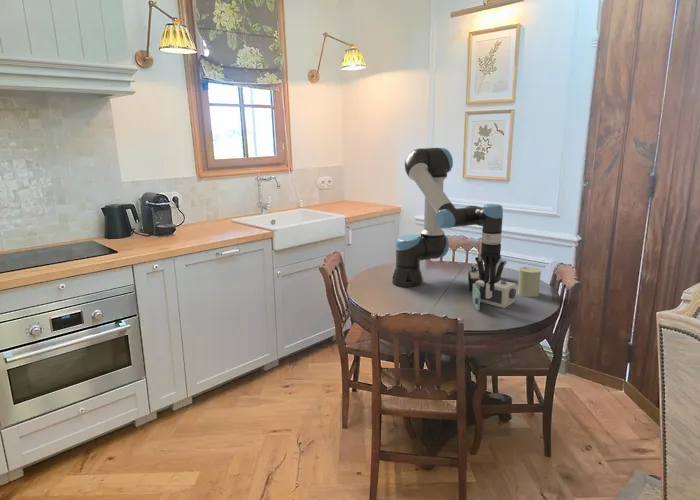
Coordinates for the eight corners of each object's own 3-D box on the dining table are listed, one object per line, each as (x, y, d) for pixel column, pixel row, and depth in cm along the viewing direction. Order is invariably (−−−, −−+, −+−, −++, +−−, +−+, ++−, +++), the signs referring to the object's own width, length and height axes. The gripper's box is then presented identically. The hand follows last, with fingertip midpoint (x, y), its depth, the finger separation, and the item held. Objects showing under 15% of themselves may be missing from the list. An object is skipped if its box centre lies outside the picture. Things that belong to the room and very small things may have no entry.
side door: (469, 299, 201) (470, 283, 199) (474, 299, 201) (474, 283, 199) (475, 310, 189) (476, 293, 187) (479, 310, 189) (480, 293, 187)
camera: (485, 293, 210) (486, 272, 207) (468, 292, 211) (469, 271, 209) (483, 283, 224) (484, 263, 221) (467, 282, 226) (468, 262, 223)
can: (523, 288, 214) (525, 264, 211) (542, 293, 208) (544, 268, 205) (513, 293, 208) (515, 268, 205) (533, 298, 202) (535, 272, 199)
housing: (474, 300, 201) (475, 280, 199) (484, 294, 207) (485, 275, 205) (506, 308, 191) (508, 287, 189) (516, 302, 197) (517, 282, 195)
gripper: (472, 242, 187) (470, 296, 193) (502, 246, 178) (499, 303, 184) (481, 239, 192) (478, 292, 198) (510, 243, 184) (507, 298, 189)
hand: (488, 297), depth 191 cm, fingers closed
